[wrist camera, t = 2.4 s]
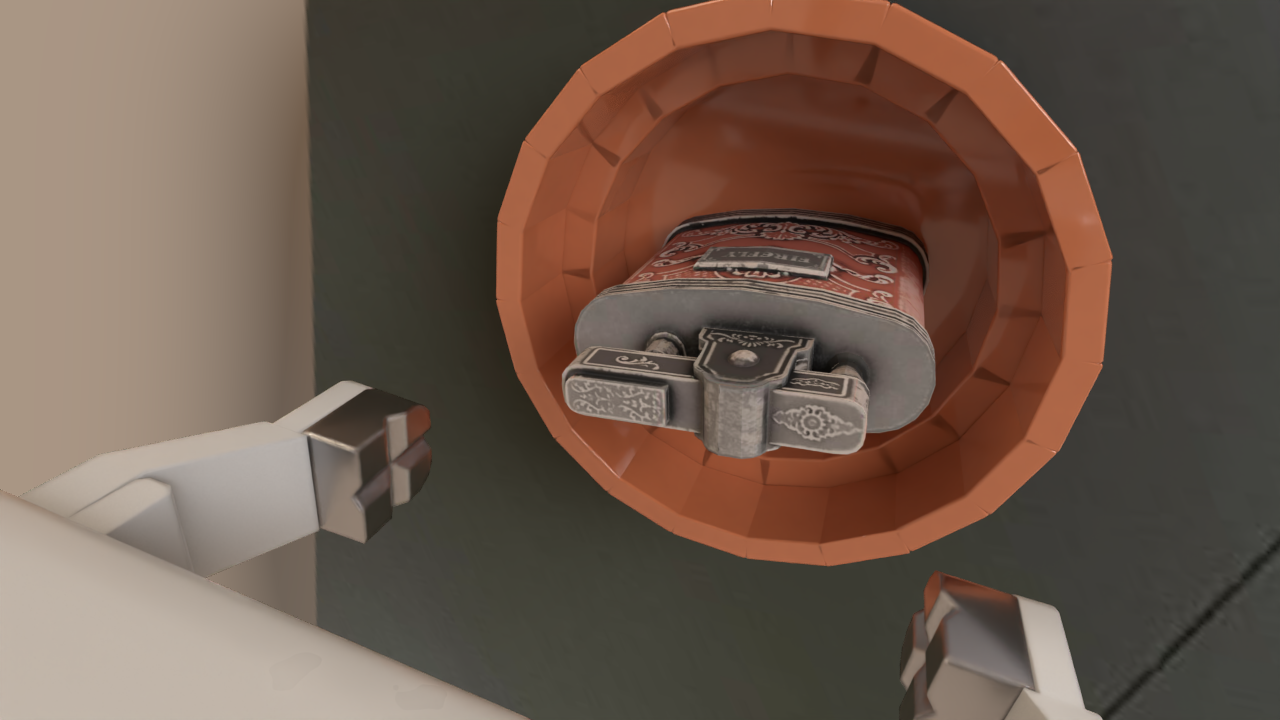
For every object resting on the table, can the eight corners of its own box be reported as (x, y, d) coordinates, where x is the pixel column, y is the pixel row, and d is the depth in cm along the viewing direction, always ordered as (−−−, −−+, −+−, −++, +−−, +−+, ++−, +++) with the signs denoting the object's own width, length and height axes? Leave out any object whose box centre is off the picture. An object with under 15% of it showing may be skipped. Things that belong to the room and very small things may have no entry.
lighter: (937, 213, 19) (955, 363, 11) (920, 324, 21) (925, 530, 12) (667, 202, 22) (512, 316, 13) (669, 301, 23) (531, 458, 15)
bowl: (1158, 40, 16) (1267, 48, 11) (954, 503, 23) (965, 635, 18) (603, -32, 20) (499, -49, 15) (570, 388, 27) (492, 472, 22)
